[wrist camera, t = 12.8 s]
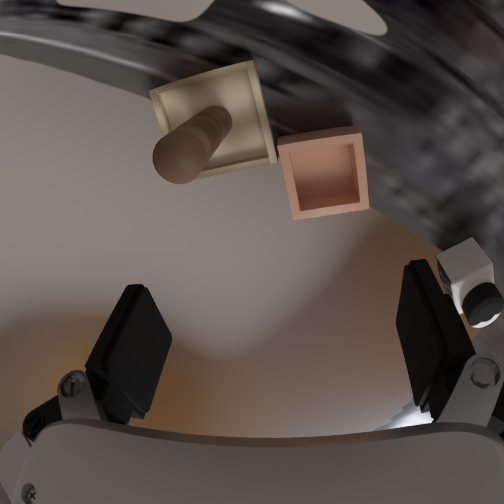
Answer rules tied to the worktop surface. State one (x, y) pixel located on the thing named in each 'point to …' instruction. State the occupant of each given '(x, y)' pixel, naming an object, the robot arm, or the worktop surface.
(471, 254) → the medicine bottle
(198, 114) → the dowel
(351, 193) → the pink square box
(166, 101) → the tray
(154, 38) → the worktop surface
